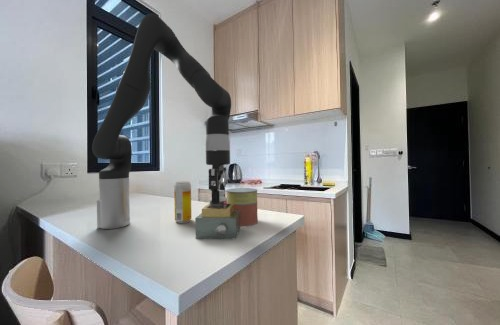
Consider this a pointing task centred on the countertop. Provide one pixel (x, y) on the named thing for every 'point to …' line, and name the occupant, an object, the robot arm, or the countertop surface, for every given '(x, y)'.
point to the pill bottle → (222, 201)
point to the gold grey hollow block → (218, 222)
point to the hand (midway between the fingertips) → (218, 200)
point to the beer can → (182, 201)
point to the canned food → (244, 204)
